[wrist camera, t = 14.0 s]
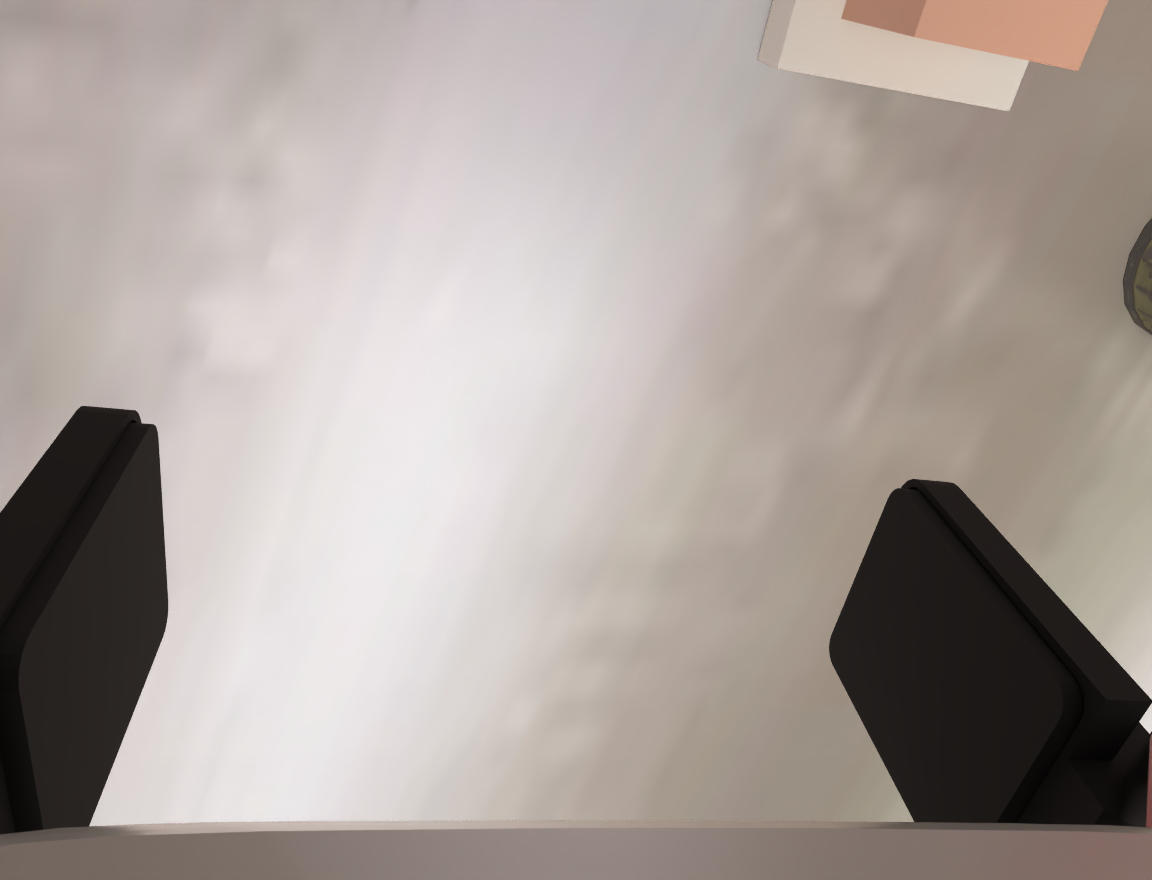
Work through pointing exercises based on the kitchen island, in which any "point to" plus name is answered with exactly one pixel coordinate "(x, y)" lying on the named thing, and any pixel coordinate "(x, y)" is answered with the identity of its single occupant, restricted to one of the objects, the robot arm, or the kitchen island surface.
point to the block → (884, 56)
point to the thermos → (1140, 280)
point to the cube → (991, 25)
